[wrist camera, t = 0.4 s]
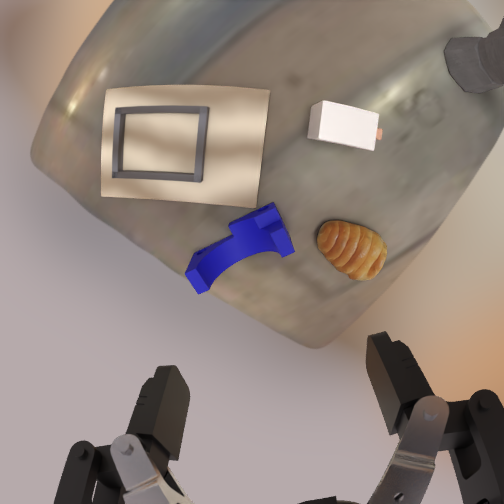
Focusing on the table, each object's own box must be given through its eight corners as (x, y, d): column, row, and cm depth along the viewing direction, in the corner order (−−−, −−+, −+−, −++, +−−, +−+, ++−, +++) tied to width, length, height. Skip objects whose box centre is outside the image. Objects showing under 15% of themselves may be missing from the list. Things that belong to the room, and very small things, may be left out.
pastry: (304, 249, 36) (309, 262, 32) (331, 204, 33) (339, 213, 30) (360, 278, 38) (368, 292, 34) (387, 238, 35) (398, 249, 32)
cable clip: (273, 201, 34) (277, 215, 29) (288, 233, 36) (294, 251, 30) (188, 243, 36) (177, 262, 31) (206, 271, 38) (198, 294, 32)
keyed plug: (311, 106, 29) (323, 100, 24) (366, 118, 30) (388, 116, 24) (307, 138, 31) (318, 138, 25) (362, 149, 31) (383, 153, 26)
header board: (109, 90, 28) (100, 87, 26) (269, 91, 29) (270, 88, 26) (104, 194, 33) (95, 199, 31) (255, 206, 34) (255, 211, 32)
